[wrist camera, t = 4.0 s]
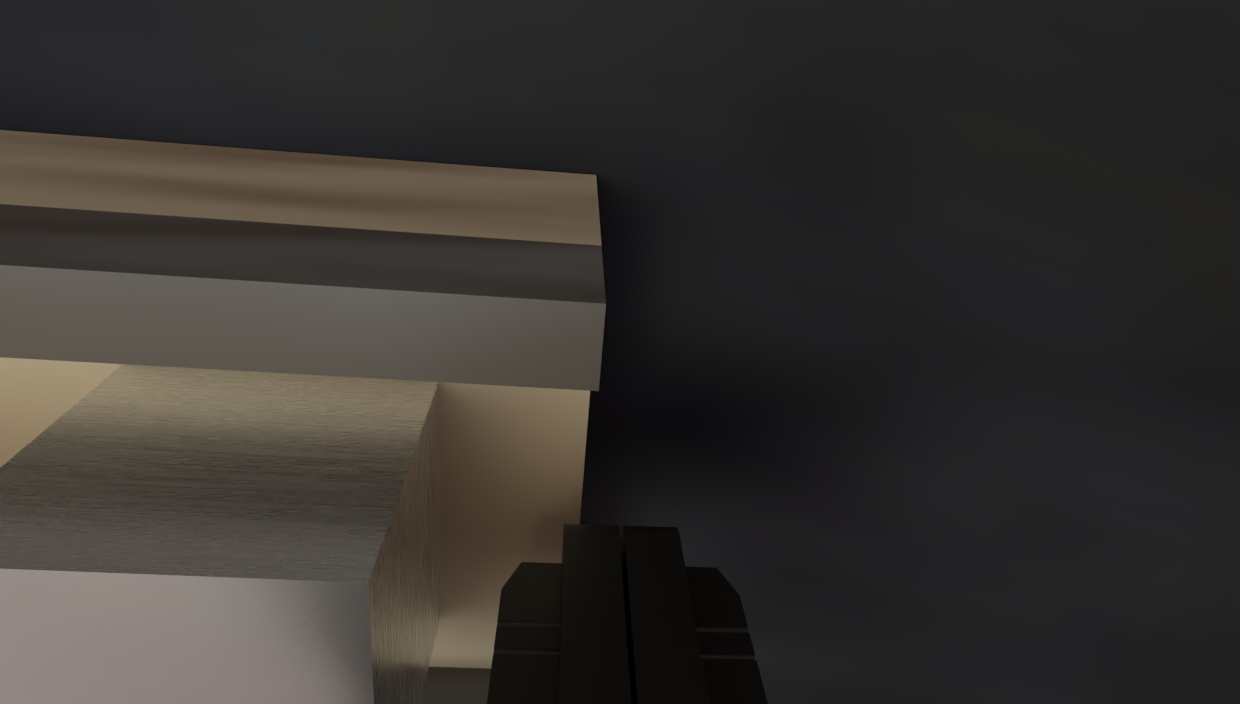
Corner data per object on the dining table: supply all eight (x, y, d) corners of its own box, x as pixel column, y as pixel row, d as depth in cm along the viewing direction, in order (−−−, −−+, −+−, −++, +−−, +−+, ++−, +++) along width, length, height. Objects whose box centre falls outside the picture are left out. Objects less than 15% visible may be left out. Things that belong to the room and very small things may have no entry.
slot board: (-304, 107, 13) (-953, 203, 7) (596, 175, 14) (605, 303, 8) (-152, 530, 16) (-527, 813, 11) (568, 560, 17) (561, 831, 12)
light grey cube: (123, 362, 11) (-114, 563, 7) (438, 380, 11) (369, 582, 7) (166, 607, 12) (-8, 872, 9) (439, 616, 13) (382, 878, 9)
